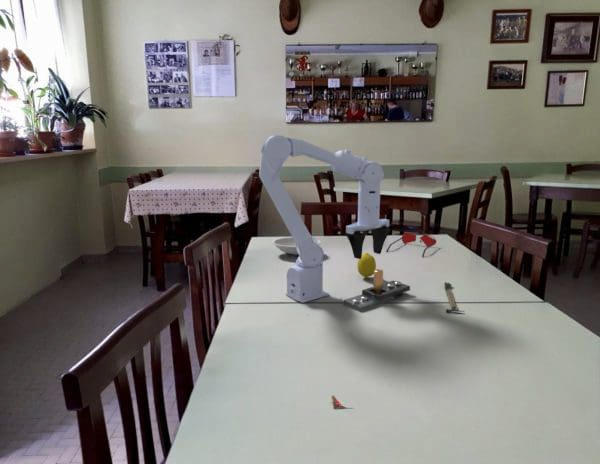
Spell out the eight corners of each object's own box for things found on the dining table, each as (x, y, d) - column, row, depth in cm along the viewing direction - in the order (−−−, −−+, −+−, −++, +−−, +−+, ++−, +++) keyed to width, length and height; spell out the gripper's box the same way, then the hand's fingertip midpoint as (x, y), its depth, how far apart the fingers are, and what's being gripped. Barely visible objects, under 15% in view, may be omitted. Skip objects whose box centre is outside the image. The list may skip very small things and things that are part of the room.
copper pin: (377, 301, 118) (378, 272, 117) (371, 299, 120) (371, 270, 119) (384, 299, 120) (385, 271, 118) (377, 297, 122) (378, 268, 120)
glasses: (436, 248, 172) (437, 235, 171) (423, 258, 158) (423, 244, 157) (401, 243, 179) (402, 231, 178) (385, 253, 166) (386, 239, 165)
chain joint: (359, 311, 112) (360, 300, 112) (343, 304, 117) (343, 293, 116) (409, 294, 123) (410, 284, 123) (392, 288, 128) (393, 278, 127)
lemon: (370, 282, 133) (370, 256, 131) (353, 279, 136) (354, 253, 135) (378, 277, 137) (379, 252, 136) (362, 274, 141) (363, 249, 139)
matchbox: (362, 407, 74) (362, 405, 74) (333, 413, 73) (333, 411, 73) (351, 392, 79) (351, 390, 79) (323, 398, 77) (323, 395, 77)
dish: (267, 259, 157) (267, 245, 156) (277, 249, 171) (276, 236, 170) (318, 261, 154) (318, 247, 153) (323, 250, 168) (323, 237, 167)
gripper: (359, 211, 113) (358, 263, 116) (398, 205, 122) (396, 254, 125) (340, 208, 119) (340, 257, 122) (379, 202, 127) (377, 248, 130)
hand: (367, 255), depth 124 cm, fingers open, 7 cm apart
